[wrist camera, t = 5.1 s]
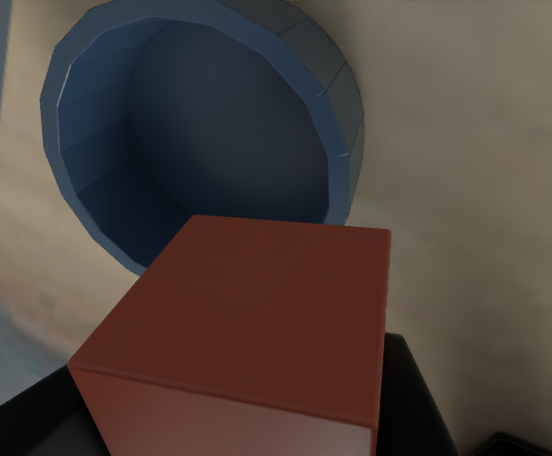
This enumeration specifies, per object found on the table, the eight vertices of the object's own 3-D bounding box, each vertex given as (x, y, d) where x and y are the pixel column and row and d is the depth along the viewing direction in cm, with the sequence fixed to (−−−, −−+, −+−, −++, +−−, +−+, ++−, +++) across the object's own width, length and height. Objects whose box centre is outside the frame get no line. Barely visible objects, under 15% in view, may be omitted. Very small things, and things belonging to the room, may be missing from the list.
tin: (413, 38, 15) (414, 66, 11) (315, 270, 22) (292, 342, 17) (125, -59, 16) (25, -66, 12) (116, 194, 22) (50, 245, 18)
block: (392, 227, 8) (377, 426, 4) (379, 373, 10) (363, 580, 6) (192, 212, 9) (61, 363, 5) (220, 346, 11) (137, 514, 8)
